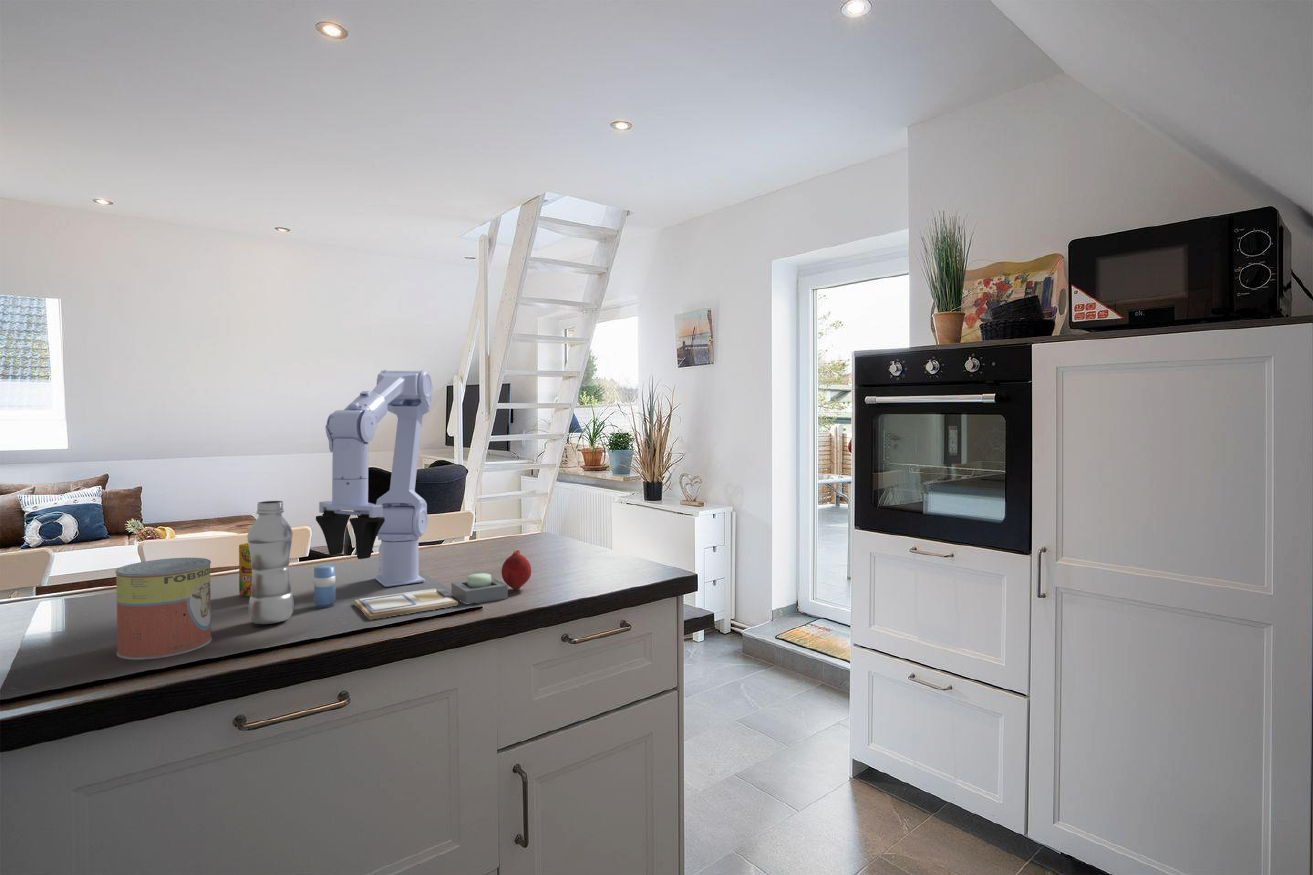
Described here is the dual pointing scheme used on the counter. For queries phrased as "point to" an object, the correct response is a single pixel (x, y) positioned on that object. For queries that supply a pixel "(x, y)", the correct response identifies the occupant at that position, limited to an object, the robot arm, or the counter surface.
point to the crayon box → (245, 570)
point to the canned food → (163, 608)
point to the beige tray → (404, 603)
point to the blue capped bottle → (324, 586)
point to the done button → (478, 580)
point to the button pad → (479, 592)
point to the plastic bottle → (270, 565)
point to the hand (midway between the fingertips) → (349, 556)
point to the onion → (516, 570)
